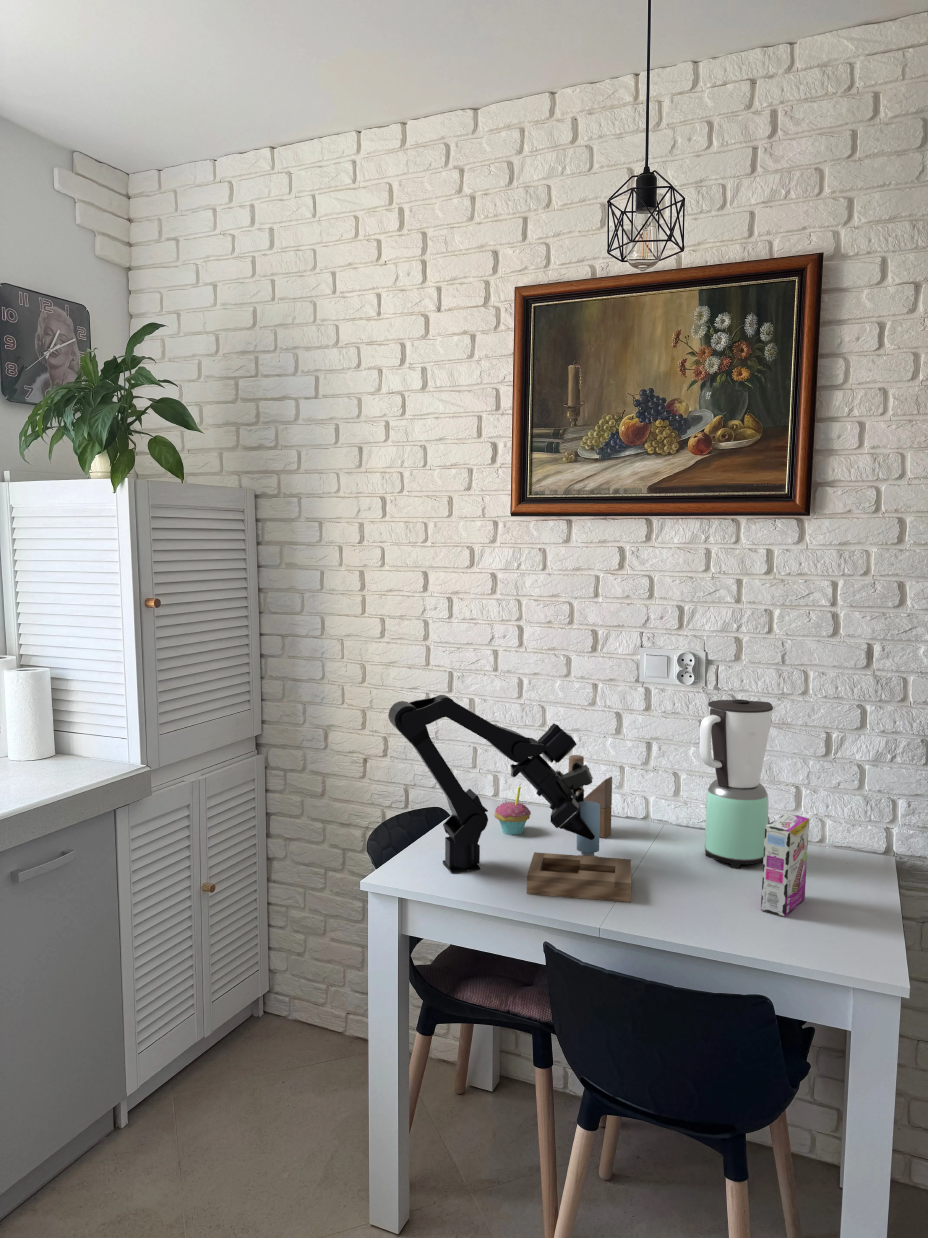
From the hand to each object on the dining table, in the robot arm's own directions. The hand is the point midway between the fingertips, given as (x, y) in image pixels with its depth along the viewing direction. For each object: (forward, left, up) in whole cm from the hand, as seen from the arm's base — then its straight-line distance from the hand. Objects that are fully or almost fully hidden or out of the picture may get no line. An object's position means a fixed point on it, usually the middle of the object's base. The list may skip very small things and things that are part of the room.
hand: (594, 831), depth 187 cm
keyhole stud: (-1, +1, -7) cm, 7 cm away
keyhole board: (-8, -10, -7) cm, 15 cm away
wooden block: (+8, +19, -7) cm, 22 cm away
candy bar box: (+24, -31, -7) cm, 40 cm away
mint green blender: (+30, -7, -7) cm, 32 cm away
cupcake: (-9, +25, -7) cm, 28 cm away
